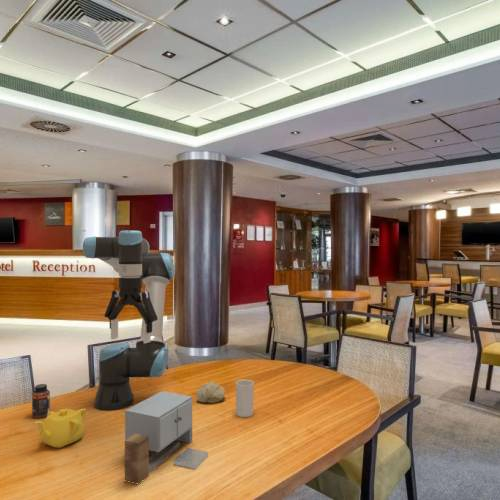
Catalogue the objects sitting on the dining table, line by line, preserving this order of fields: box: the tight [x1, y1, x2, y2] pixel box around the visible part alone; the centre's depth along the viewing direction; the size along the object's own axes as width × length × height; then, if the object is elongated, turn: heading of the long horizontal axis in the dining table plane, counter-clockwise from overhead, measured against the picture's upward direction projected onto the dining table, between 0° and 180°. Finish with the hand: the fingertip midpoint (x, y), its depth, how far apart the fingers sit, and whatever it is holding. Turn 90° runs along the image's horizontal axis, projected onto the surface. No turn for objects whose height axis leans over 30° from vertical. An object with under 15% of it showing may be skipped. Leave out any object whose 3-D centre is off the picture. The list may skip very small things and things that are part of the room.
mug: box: [235, 379, 255, 418], centre depth 159 cm, size 10×7×12 cm, turn 23°
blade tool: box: [124, 434, 181, 485], centre depth 121 cm, size 4×22×11 cm, turn 158°
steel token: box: [173, 447, 209, 470], centre depth 123 cm, size 7×8×2 cm
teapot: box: [34, 408, 87, 449], centre depth 135 cm, size 14×13×10 cm
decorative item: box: [196, 381, 226, 404], centre depth 171 cm, size 12×9×10 cm
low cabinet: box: [124, 390, 193, 453], centre depth 129 cm, size 13×18×14 cm
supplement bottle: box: [31, 383, 51, 419], centre depth 155 cm, size 6×6×11 cm
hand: (130, 340), depth 139 cm, fingers open, 13 cm apart
